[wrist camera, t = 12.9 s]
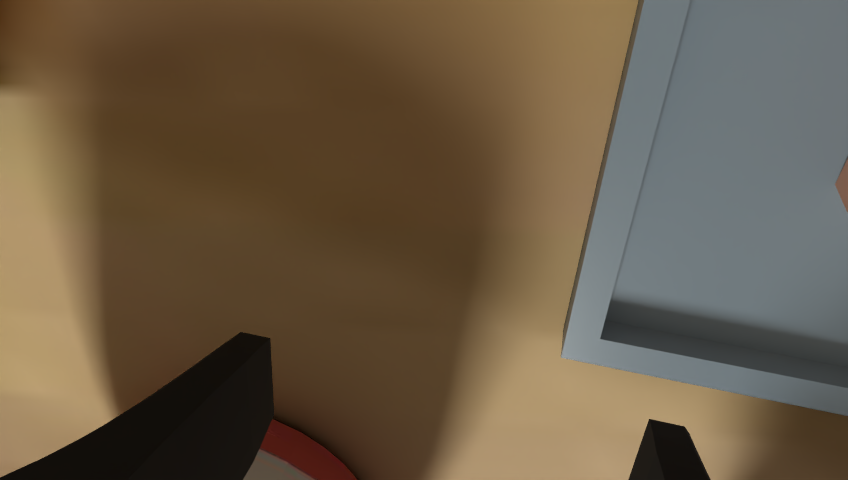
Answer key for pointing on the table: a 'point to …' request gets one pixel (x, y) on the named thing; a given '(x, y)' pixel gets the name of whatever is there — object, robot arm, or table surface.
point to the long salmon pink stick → (843, 185)
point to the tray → (724, 204)
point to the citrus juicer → (294, 458)
